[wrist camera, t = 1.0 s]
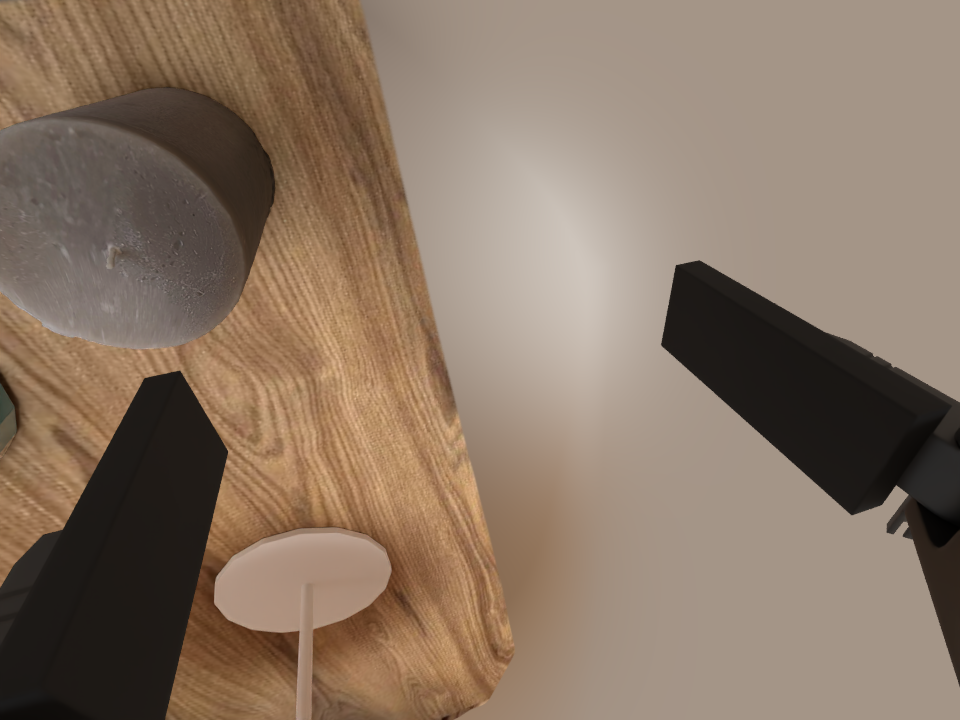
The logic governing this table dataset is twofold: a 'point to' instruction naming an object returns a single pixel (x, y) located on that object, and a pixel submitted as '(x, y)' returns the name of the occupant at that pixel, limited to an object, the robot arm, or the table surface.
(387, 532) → the table surface
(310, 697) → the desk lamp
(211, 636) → the table surface
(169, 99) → the pillar candle
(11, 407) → the bowl
